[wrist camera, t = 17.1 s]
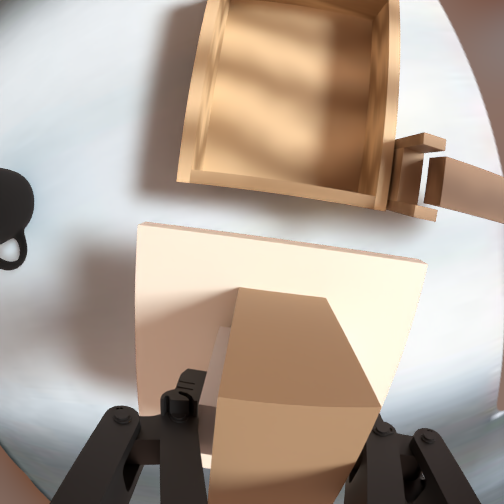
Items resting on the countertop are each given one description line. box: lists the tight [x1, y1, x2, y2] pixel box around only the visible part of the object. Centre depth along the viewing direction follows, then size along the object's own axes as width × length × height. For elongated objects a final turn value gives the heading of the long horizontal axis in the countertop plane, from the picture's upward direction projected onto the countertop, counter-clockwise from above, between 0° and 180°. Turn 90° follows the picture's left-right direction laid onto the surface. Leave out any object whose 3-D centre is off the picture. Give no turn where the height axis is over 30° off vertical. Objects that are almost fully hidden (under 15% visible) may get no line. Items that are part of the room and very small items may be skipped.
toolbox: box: [176, 0, 446, 222], centre depth 22 cm, size 20×18×10 cm
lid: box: [135, 222, 428, 504], centre depth 14 cm, size 17×16×11 cm
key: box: [424, 157, 504, 224], centre depth 20 cm, size 4×11×2 cm, turn 83°
